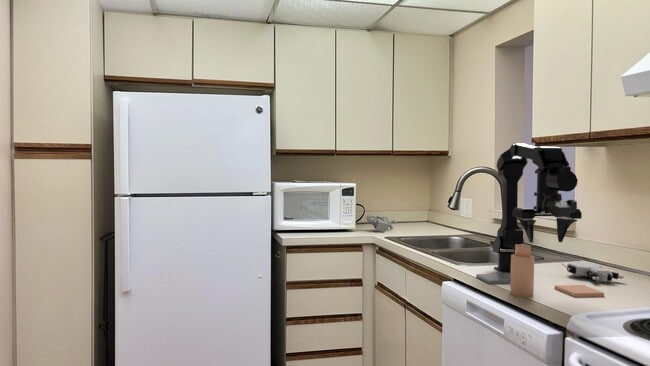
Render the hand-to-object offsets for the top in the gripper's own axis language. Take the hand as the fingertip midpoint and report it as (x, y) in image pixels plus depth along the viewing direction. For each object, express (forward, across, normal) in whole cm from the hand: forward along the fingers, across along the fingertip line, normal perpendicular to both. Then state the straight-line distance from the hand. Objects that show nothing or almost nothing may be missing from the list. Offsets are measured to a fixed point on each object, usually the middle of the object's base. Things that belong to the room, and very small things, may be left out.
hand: (545, 242), depth 137 cm
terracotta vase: (+14, -10, -5) cm, 18 cm away
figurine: (+16, -15, +131) cm, 133 cm away
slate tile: (+14, -9, +12) cm, 20 cm away
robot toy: (+14, +24, +11) cm, 30 cm away
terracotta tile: (+14, +8, -4) cm, 16 cm away
